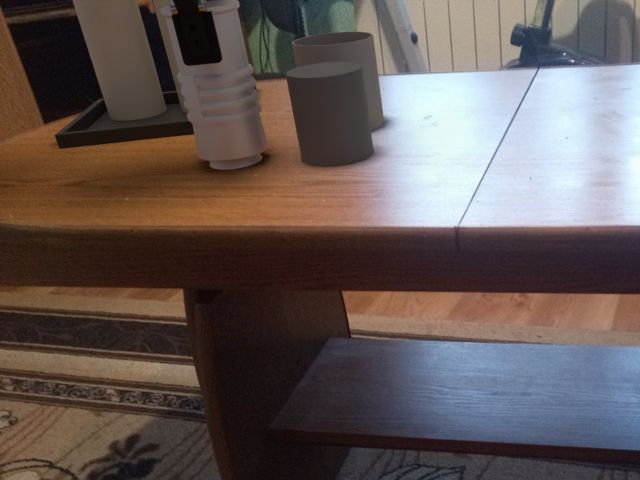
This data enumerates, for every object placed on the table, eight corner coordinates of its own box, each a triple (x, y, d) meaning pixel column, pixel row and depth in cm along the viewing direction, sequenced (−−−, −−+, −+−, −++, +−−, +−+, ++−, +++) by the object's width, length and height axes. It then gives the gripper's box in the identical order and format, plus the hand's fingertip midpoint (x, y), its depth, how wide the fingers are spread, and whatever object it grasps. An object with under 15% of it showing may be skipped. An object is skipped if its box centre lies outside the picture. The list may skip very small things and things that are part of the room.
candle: (187, 178, 72) (141, 10, 64) (238, 157, 77) (202, -1, 69) (237, 186, 69) (195, 11, 61) (287, 163, 74) (255, -1, 66)
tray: (60, 153, 83) (54, 135, 82) (103, 114, 99) (98, 98, 98) (245, 133, 85) (241, 115, 84) (258, 98, 101) (255, 82, 100)
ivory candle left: (103, 123, 92) (60, -10, 84) (117, 110, 97) (78, -15, 90) (161, 117, 92) (124, -15, 84) (171, 105, 98) (137, -20, 90)
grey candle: (302, 180, 69) (283, 80, 64) (304, 159, 75) (287, 66, 70) (377, 172, 69) (363, 72, 65) (373, 151, 75) (360, 58, 71)
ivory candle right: (177, 115, 92) (141, -17, 85) (186, 103, 98) (154, -21, 91) (233, 109, 93) (203, -22, 85) (239, 97, 99) (212, -26, 91)
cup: (324, 151, 77) (307, 49, 71) (299, 135, 83) (281, 40, 78) (397, 135, 80) (385, 36, 75) (367, 120, 86) (355, 29, 81)
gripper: (132, -163, 65) (185, 44, 74) (75, -185, 50) (149, 77, 59) (218, -169, 66) (260, 36, 75) (186, -192, 51) (244, 67, 60)
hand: (211, 54), depth 67 cm, fingers open, 9 cm apart
